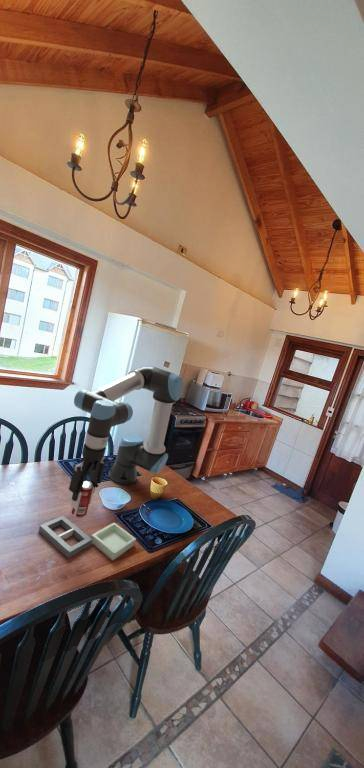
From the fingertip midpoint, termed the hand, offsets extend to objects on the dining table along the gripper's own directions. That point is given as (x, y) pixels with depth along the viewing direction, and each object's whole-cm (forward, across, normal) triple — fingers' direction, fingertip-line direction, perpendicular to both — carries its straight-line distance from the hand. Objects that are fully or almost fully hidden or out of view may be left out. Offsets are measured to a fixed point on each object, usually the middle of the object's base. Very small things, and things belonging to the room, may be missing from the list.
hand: (81, 504), depth 109 cm
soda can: (+4, 0, 0) cm, 4 cm away
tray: (+16, +12, -10) cm, 22 cm away
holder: (+16, 0, +4) cm, 16 cm away
